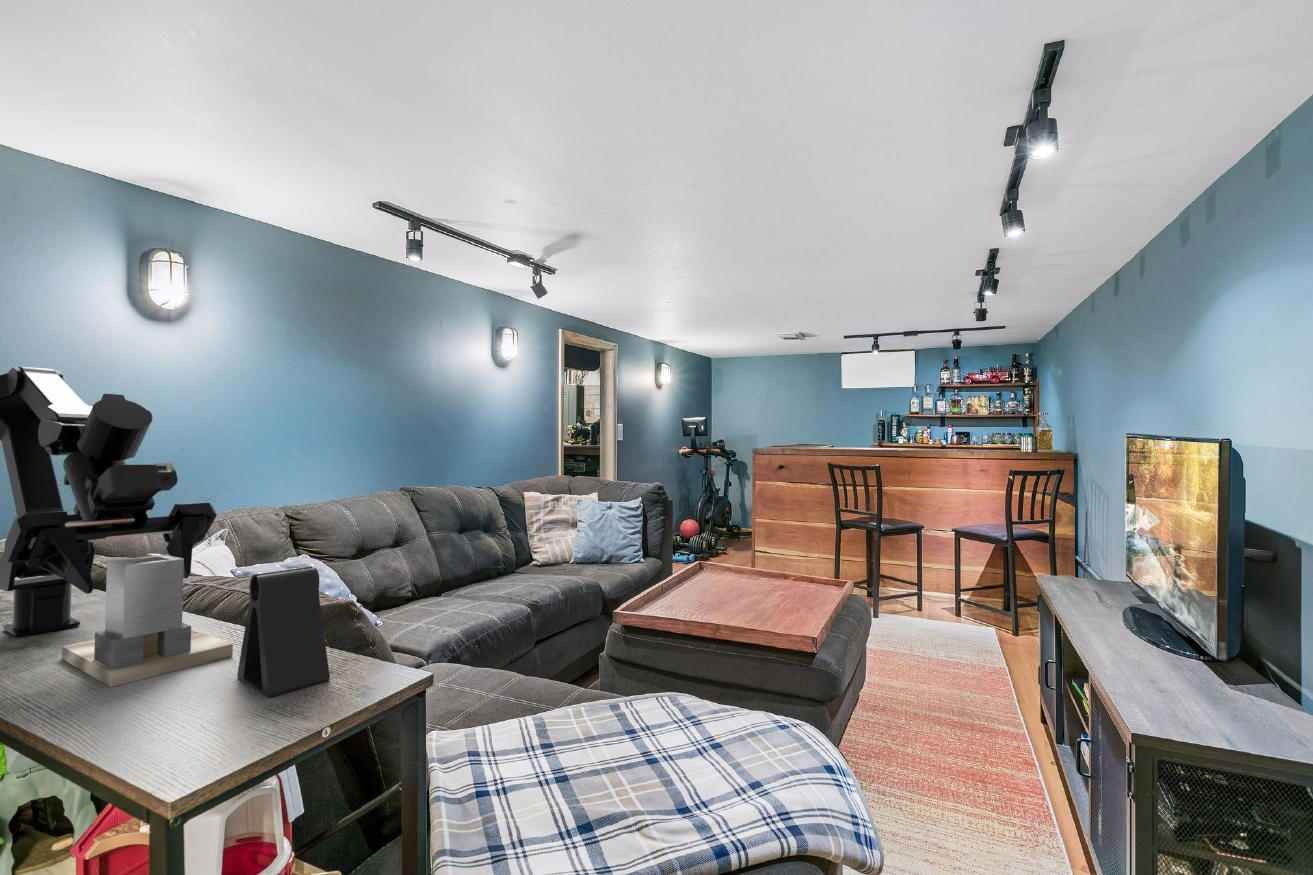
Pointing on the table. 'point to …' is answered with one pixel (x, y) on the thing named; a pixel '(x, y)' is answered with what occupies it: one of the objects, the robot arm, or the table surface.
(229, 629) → the table surface
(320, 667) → the phone stand
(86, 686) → the table surface
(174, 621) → the steel sleeve
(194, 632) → the board
